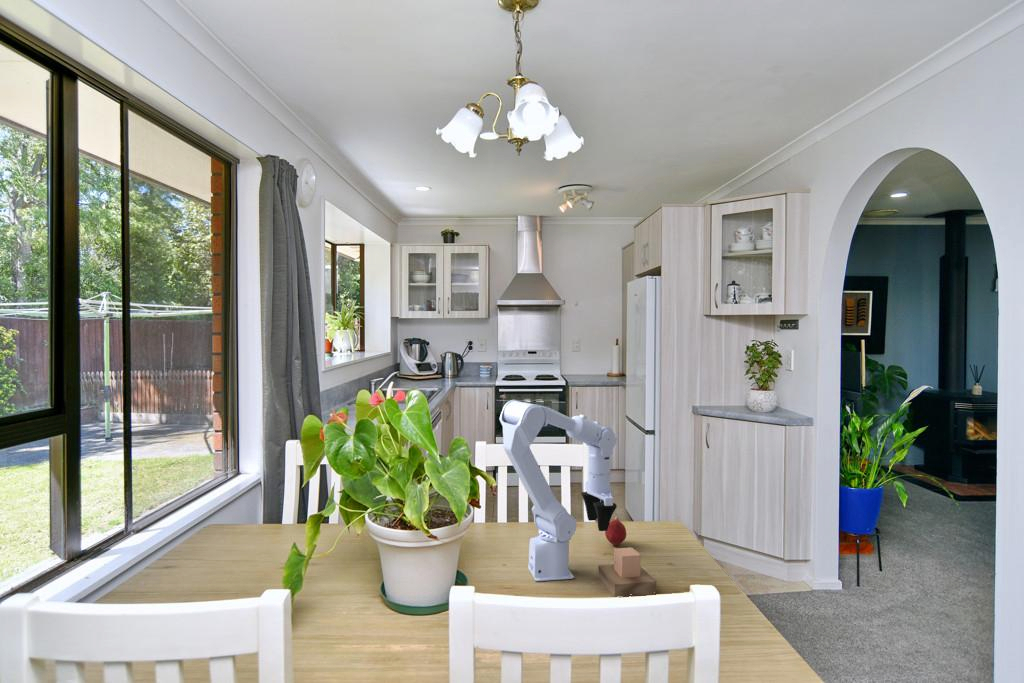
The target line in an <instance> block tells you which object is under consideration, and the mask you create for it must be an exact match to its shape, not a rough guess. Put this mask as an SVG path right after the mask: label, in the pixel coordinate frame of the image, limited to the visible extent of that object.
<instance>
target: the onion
mask: <svg viewBox="0 0 1024 683" xmlns="http://www.w3.org/2000/svg"><path fill="white" fill-rule="evenodd" d="M604 536H605V538H606V539H607V541H608V542H609V543H610V544H611V545H612V546H614V547H618V546H619V545H620V544H622V543H623V542H624V541H625V540H626V539H627V529H626V527H625V524H624V523H622V522H621V521H620V520H619V517H618V516H615V517H614V518H613V520H612V521H611V520H610V523H609V527H608V530H607V531H604Z"/></svg>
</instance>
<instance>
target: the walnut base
mask: <svg viewBox="0 0 1024 683" xmlns="http://www.w3.org/2000/svg"><path fill="white" fill-rule="evenodd" d="M597 570H598V571H597V578H598V580H599V581H600V582H601V583H602V585H603V586H604V587H605V588H606V589H607V591H608V592H609V593H610V594H611V595H612V597H613V598H614V597H617V596H631V597H641V596H642V595H644V596H653V594H656V595H657V580H655V578H654V577H653V576H652V575H651V574H650V573H649V572H647V570H646V569H644V568H643V567H642V566H641V565H640V577H629V578H621V577H620V576H619V575H618V574H617V572H616V571H615V570H614V563H613V564H599V565H598V568H597ZM654 592H655V593H654ZM630 594H632V595H630Z"/></svg>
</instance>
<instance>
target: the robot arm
mask: <svg viewBox="0 0 1024 683" xmlns="http://www.w3.org/2000/svg"><path fill="white" fill-rule="evenodd" d="M501 410H502V411H501V412H500V416H499V418H498V419H499V422H500V424H501V426H502V439H503V449H504V451H505V454H506V455H507V457H508V460H509V461H510V464H512V467H513V469H514V470H515V473H516V474H517V476H518V478H519V480H520V481H521V483H522V485H523V487H524V489H525V492H526V493H527V495H528V496H529V499H530V501H531V502H532V505H533V506H532V508H531V512H532V515H533V522H534V525H535V527H536V528H537V529H538V535H537V536H534V537H530V539H529V546H528V565H527V568H528V571H529V572H530V574H531V575H532V577H533V579H534V581H536V582H543V581H544V582H545V581H559V580H571V579H574V578H575V576H574V575H573V573H572V572H571V570H570V569H569V560H570V558H569V557H570V556H569V554H570V541H571V540H572V538H573V536H574V535H575V533H576V530H577V520H576V519H575V517H574V515H572V514H570V513H569V512H568V510H567V509H566V508H565V506H563V504H561V502H559V500H558V499H556V497H555V495H554V493H553V490H552V488H551V487H550V485H549V483H548V480H547V479H546V478H545V474H544V473H543V471H542V469H541V467H540V465H539V464H538V461H537V460H536V458H535V455H534V454H533V452H532V450H531V448H530V446H531V445H532V444H533V442H534V441H535V439H536V438H537V436H538V434H540V433H539V432H541V430H542V428H543V427H547V426H548V425H551V426H554V427H556V428H560V429H562V430H565V433H566V435H567V436H568V437H569V438H571V439H573V440H576V441H578V442H581V443H584V444H585V445H586V446H588V455H587V456H588V458H587V460H588V461H587V481H585V483H584V488H585V491H582V492H580V495H581V498H582V499H583V503H584V506H585V511H586V516H587V520H588V521H596V522H597V528H598V531H599V532H605V531H607V530H608V527H609V523H610V522H611V519H612V516H613V514H614V512H615V510H616V509H617V508H618V505H617V504H616V503H615V502H614V497H613V496H612V494H614V493H615V489H614V488H611V469H612V467H611V466H612V465H611V464H612V459H611V458H612V456H613V454H614V448H615V446H616V444H617V436H616V434H615V432H614V431H613V429H612V428H610V427H607V426H603V425H601V424H600V422H599V421H592V420H589V419H587V418H588V417H587V416H586V415H584V414H579V415H574V416H571V417H570V416H568V415H565V414H563V413H561V412H559V411H557V410H555V409H552V408H550V407H548V406H543V405H539V404H536V403H534V404H533V403H529V402H525V401H523V402H522V401H519V400H518V399H512V400H508V401H507V402H506V403H505V404H504V405H503V407H502V409H501Z"/></svg>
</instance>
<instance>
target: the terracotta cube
mask: <svg viewBox="0 0 1024 683" xmlns="http://www.w3.org/2000/svg"><path fill="white" fill-rule="evenodd" d="M613 554H614V556H613V564H614V570H615V571H616V572H617V574H618V575H619V576H620V577H621V578H629V577H640V566H641V557H642V555H641V554H640V552H638V551H637V550H636V549H634V548H633V547H619V548H616V547H615V548H614V553H613Z"/></svg>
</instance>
